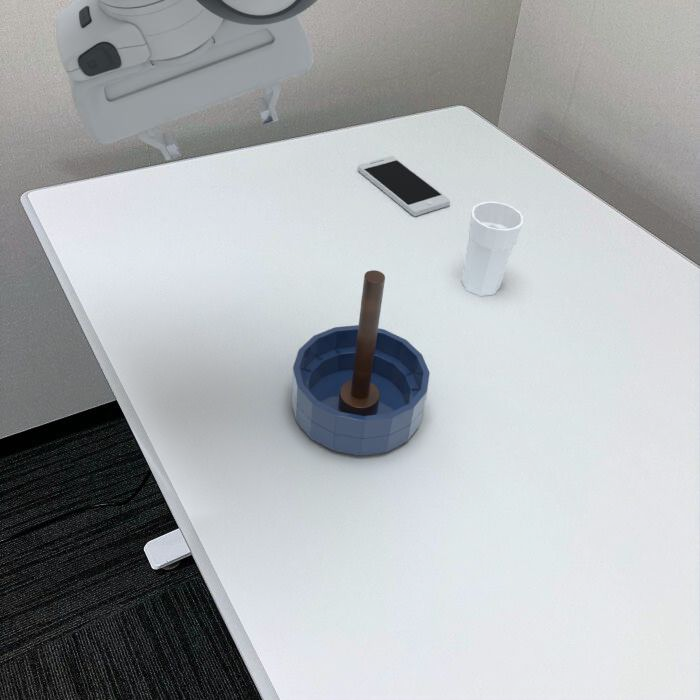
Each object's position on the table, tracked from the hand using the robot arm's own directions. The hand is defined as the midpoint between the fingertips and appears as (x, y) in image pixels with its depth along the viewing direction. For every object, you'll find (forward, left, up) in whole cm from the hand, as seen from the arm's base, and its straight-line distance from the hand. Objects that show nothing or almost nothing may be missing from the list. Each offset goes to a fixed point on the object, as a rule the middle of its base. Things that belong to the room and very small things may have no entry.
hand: (221, 136), depth 71 cm
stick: (+9, -14, -28) cm, 33 cm away
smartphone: (+43, +21, -29) cm, 56 cm away
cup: (+37, -4, -29) cm, 47 cm away
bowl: (+9, -14, -29) cm, 33 cm away
